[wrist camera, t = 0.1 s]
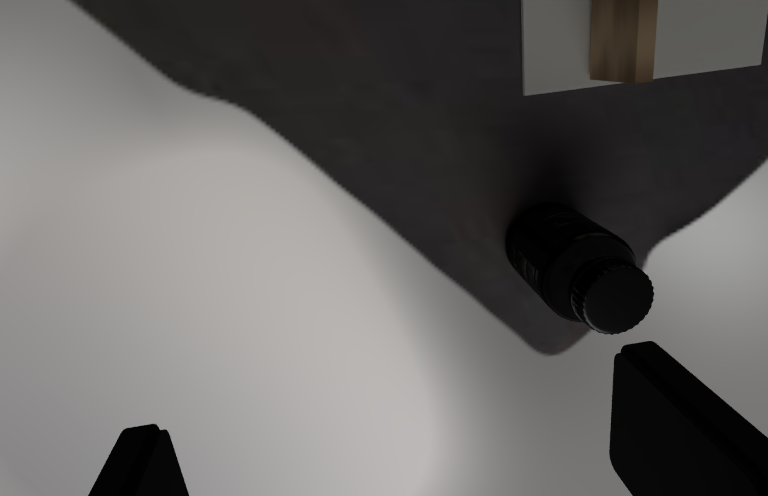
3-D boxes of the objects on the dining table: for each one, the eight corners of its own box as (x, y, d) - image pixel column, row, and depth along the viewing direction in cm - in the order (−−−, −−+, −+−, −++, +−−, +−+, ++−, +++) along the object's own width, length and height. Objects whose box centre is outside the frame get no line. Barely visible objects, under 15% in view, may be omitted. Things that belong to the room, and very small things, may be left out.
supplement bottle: (561, 284, 46) (639, 358, 35) (491, 265, 44) (549, 336, 33) (594, 213, 44) (689, 267, 33) (522, 190, 42) (595, 238, 31)
